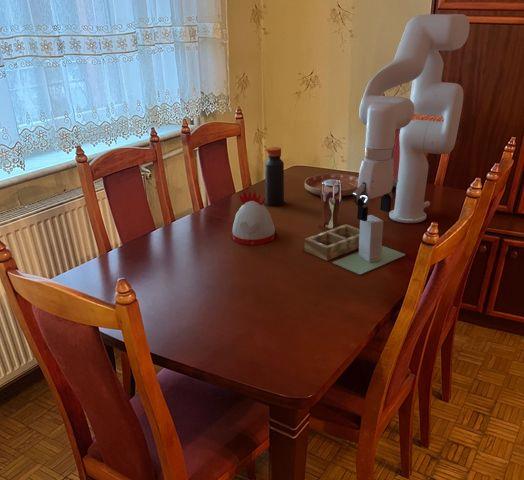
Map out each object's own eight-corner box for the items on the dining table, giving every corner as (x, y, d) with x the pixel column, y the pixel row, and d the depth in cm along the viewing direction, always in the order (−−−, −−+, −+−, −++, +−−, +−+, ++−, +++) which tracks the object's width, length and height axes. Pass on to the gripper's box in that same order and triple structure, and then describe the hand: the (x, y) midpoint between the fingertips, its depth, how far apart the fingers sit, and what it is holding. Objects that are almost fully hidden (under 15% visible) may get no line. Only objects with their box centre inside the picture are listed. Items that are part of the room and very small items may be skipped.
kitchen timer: (238, 227, 185) (236, 183, 176) (278, 229, 182) (277, 184, 174) (228, 243, 173) (225, 197, 165) (270, 245, 171) (269, 198, 162)
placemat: (377, 244, 169) (377, 243, 169) (405, 255, 162) (406, 254, 162) (332, 263, 159) (332, 262, 159) (360, 275, 152) (360, 274, 151)
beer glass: (339, 231, 179) (341, 185, 171) (318, 230, 181) (319, 185, 172) (340, 223, 185) (343, 179, 177) (320, 222, 186) (321, 178, 178)
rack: (345, 235, 176) (346, 224, 174) (368, 244, 170) (369, 232, 167) (304, 251, 167) (304, 238, 164) (326, 260, 160) (327, 248, 158)
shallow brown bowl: (300, 183, 224) (300, 174, 222) (354, 180, 226) (354, 171, 224) (310, 201, 205) (310, 191, 203) (369, 197, 207) (369, 188, 205)
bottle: (287, 202, 205) (287, 147, 194) (278, 207, 200) (277, 151, 189) (271, 199, 208) (271, 145, 197) (262, 204, 203) (261, 149, 192)
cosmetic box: (381, 260, 159) (385, 220, 152) (368, 263, 157) (371, 223, 150) (369, 252, 163) (372, 213, 157) (356, 255, 162) (359, 216, 155)
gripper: (389, 144, 150) (383, 204, 160) (345, 157, 142) (342, 219, 151) (411, 149, 146) (404, 211, 155) (367, 162, 137) (362, 227, 147)
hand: (373, 215), depth 153 cm, fingers open, 9 cm apart
